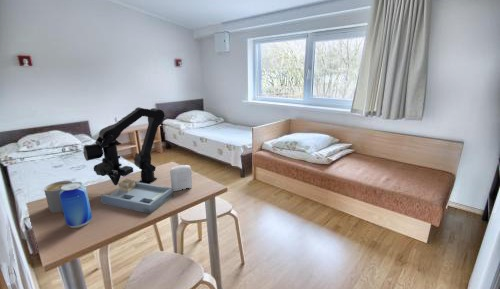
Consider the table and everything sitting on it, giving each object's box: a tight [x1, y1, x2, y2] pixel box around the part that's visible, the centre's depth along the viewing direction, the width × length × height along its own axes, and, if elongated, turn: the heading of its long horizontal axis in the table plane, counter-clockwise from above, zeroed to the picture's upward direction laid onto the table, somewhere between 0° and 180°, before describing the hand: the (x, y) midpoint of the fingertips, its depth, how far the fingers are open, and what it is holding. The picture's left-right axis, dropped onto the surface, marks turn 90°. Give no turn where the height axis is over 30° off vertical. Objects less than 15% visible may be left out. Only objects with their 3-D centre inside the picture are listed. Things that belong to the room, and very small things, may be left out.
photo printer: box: [169, 164, 193, 192], centre depth 125 cm, size 10×4×12 cm, turn 116°
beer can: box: [59, 181, 93, 229], centre depth 97 cm, size 8×8×16 cm
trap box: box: [100, 181, 174, 214], centre depth 116 cm, size 16×26×4 cm, turn 72°
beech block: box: [118, 178, 136, 192], centre depth 121 cm, size 5×5×4 cm
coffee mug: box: [43, 180, 73, 214], centre depth 108 cm, size 13×10×10 cm
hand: (116, 185), depth 123 cm, fingers closed
